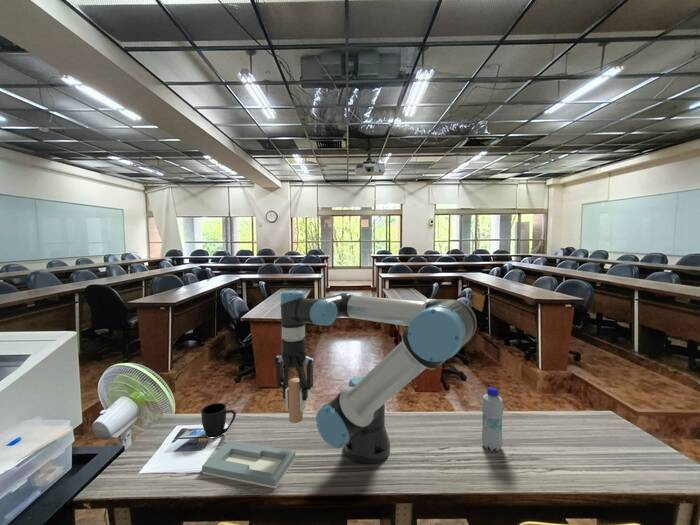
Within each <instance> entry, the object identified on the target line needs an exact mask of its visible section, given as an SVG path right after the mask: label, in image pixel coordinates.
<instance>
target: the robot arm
mask: <svg viewBox="0 0 700 525" xmlns="http://www.w3.org/2000/svg"><path fill="white" fill-rule="evenodd" d="M305 297H306V296H305V292H304V291H302V290H297V289H296V290H287V291H283V292H281V294H280V319H281V320H280V321H281V323H280V324H281V339H282V340H281V347H282V348H281V349H282V353H281V355H280V354H278V355H276V356H274V358H273V361H274V364H275V367H276V368H275V369H276V371H275V372H276V386H277V387H278V388H281V389H282V398H283V399H285V410H288V411H289V391H288V380H290V379H291V374H292V369H293V368H295V370H296V372H297V376H298V378H299V380H300V384H301V389H302V390H301V391H300V411H304V410H305V409H306V407H307V406H306V401H307V400H308V398H309V396H308V395H309V394H308V393H309V390H311V389H312V388H313V386H314V363H315V357H310V356H308V354H307V352H306V338H305V337H306V326H305V324H313V325H317V326H330V325H331V326H332V324H333V323H334V322H335V321H336V319H339V318H350V319H357V320H364V321H370V322H371V321H372V322H377V323H384V324H392V325H397V326H404V327H405V326H406V328H405V329H404V330H403V331H402V333H401V341H400V342H399V343H398V344H397V345H396V346H395V347H394V348H393V349H392V350H391V351H390V352H389V353H388V354H387V355H386V356H384V358H383V359H382V360H381V361H379V362H378V363H377V364H376V365H375V366H374V367H372V369H371V370H370V371H369V372H368V373H366V374H365V376H357V377H356V376H355V377H353V378H350V379H349V382H348V386H347V387H345V388H343V389H342V390H341V391H340V392H339V393H337V395H336V396H334V397H333V399H331V401H329V402H328V403H326V404H324V405H322V406H321V407H320V409H318V411H317V413H316V416H315V422H316V427H317V430H318V432H319V434H320V437H321V438H322V439H323V441H324V442H325V443H327V444H328V445H329V446H331V447H332V448H335V449H340V448H344V453H345V455H346V456H347V457H349V459H351V460H353V461H355V462H357V463H362V464H375V463H378V462H379V463H380V462H381V461H383V460H385V459H386V458H387V457H388V456H389V455H390V453H391V441H390V438H389V435H388V432H387V428H386V424H385V422H386V420H385V416H386V415H385V414H386V413H385V410H386V406H385V404H386V403H387V402H388V401H389V400H391V398H393V397H394V396H395V395H397V394H398V393H399V392H400V391H401V390H403V389H404V388H405V386H407V385H408V384H409V383H411V382H412V381H413V380H414V379H415V378H416V377H418V376H419V375H420V374H422V372H423V371H425V370H426V369H427V370H431V371H432V370H436V369H437V368H438V367H441V365H442V364H444V363H445V362H446V361H447V360H449V359H451V358H453V357H454V356H455V355H456V354H457V353H458V352H459V351H460V350H461V348H462V347H464V346H465V344H466V343H468V342H469V341H470V340H471V339H472V338H473V336H474V335H475V333H476V331H477V327H478V326H477V324H478V323H477V317H476V314H475V312H474V311H473V309H472V308H471V307H470V306H469V305H468V304H467V303H465V302H464V301H461V300H457V299H449V298H448V299H446V298H445V299H444V298H443V299H441V298H440V299H439V298H438V299H436V298H428V299H427V300H426V301H422V300H421V301H419V300H411V299H410V300H409V299H408V300H407V299H397V298H388V297H387V298H386V297H374V296H366V295H355V294H353V293H351V292H341V293H339V294H335V295H334V294H333V295H329V296H324V297H319V298H307V297H306V298H305ZM283 362H284V363H285V368H284V363H283ZM304 362H305V363H304ZM304 364H306V373H305V369H304V368H305V365H304Z"/></svg>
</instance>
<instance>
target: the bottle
mask: <svg viewBox="0 0 700 525" xmlns="http://www.w3.org/2000/svg"><path fill="white" fill-rule="evenodd" d="M481 410H482V428H481V430H482V431H481V443H482V445H483V446H484V448H485V449H488V448H489V449H490V451H493V452H494V449H495V451H496V452H499V451H500V450H501V449H502V446H503V414H504V411H505V410H504V402H503V397H501V396H499V390H498V388H497V387H494V386H489V387H487V390H486V393H485V394H483V395H482V400H481Z"/></svg>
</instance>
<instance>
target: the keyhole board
mask: <svg viewBox="0 0 700 525" xmlns="http://www.w3.org/2000/svg"><path fill="white" fill-rule="evenodd" d="M295 460H296V450H290V449H284V448H279V447H273V446H266V445H260V444H253V443H248V442H243V441H237V440H236V441H235V440H228V441H227V442H226V443H224V444H223V445H222V447H220V448H219V449H218V450H217V451H216V452H215V453H214V454H213V455H212V456H211V457H210V458H209V459H208V460H207V461H205V462H204V463H203V465H202V466H201V467H202V468H201V470H202V472H201V474H203V475H207V476H208V475H209V476H214V477H217V478H223V479H227V480H233V481H237V482H240V483H241V482H243V483H246V484H247V483H248V484H252V485H256V486H262V487H267V488H271V489H277V487H278V486H279V484H280V483H281V481H282V480H283V478H284V477H285V475H286V473H287V472H288V471H289V469H290V467H291V466H292V465H293V463H294V461H295Z"/></svg>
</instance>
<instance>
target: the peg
mask: <svg viewBox="0 0 700 525" xmlns="http://www.w3.org/2000/svg"><path fill="white" fill-rule="evenodd" d="M301 390H302V389H301V384H300V380H299V377H293V378H290V380H288V391H289V409H288V416H289V417H288V419H289V422H290V423H293V424H297V423H300V422H302V421H303V420H304V413H303V411H304V410H303V411H300V391H301Z"/></svg>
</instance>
